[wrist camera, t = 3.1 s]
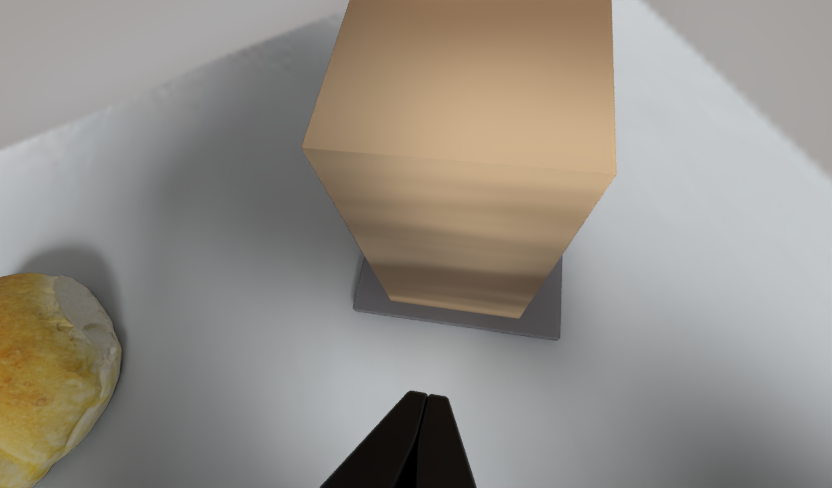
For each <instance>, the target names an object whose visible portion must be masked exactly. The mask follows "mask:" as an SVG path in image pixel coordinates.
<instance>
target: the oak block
mask: <svg viewBox="0 0 832 488" xmlns="http://www.w3.org/2000/svg"><path fill="white" fill-rule="evenodd" d="M301 148H302V150H303V152H304V153H305V155H306V157H307V158H308V160H309V162H310V163H311V165H312V167H313V169H314V170H315V172H316V174H317V175H318V177H319V179H320V181H321V182H322V184H323V186H324V187H325V189H326V191H327V192H328V194H329V196H330V198H331V199H332V201H333V203H334V204H335V206H336V208H337V210H338V211H339V213H340V215H341V216H342V218H343V220H344V221H345V223H346V225H347V227H348V228H349V230H350V232H351V233H352V235H353V237H354V238H355V240H356V242H357V244H358V245H359V247H360V249H361V250H362V252H363V254H364V256H365V257H366V259H367V261H368V262H369V264H370V266H371V267H372V269H373V271H374V273H375V274H376V276H377V278H378V279H379V281H380V283H381V285H382V286H383V288H384V290H385V291H386V293H387V295H388V296H389V298H390V300H391V301H396V302H403V303H410V304H417V305H424V306H431V307H438V308H446V309H453V310H460V311H467V312H474V313H481V314H488V315H496V316H503V317H510V318H517V319H519V318H520V316H521V315H522V313H523V312H524V310H525V309H526V307H527V306H528V305H529V303H530V302H531V300H532V299H533V297H534V296H535V294H536V293H537V291H538V290H539V288H540V287H541V285H542V284H543V282H544V281H545V279H546V278H547V276H548V275H549V273H550V272H551V271H552V269H553V268H554V266H555V265H556V263H557V262H558V260H559V259H560V257H561V256H562V254H563V253H564V251H565V250H566V248H567V247H568V245H569V244H570V242H571V241H572V239H573V238H574V236H575V235H576V234H577V232H578V231H579V229H580V228H581V226H582V225H583V223H584V222H585V220H586V219H587V217H588V216H589V214H590V213H591V211H592V210H593V208H594V207H595V205H596V204H597V202H598V201H599V200H600V198H601V197H602V195H603V194H604V192H605V191H606V189H607V188H608V186H609V185H610V183H611V182H612V180H613V179H614V177H615V176H616V174H617V170H616V136H615V103H614V69H613V35H612V2H611V0H350V1H349V4H348V7H347V10H346V13H345V16H344V19H343V22H342V25H341V28H340V31H339V34H338V37H337V40H336V43H335V46H334V50H333V53H332V56H331V59H330V62H329V65H328V68H327V71H326V74H325V77H324V80H323V83H322V86H321V89H320V92H319V95H318V98H317V101H316V104H315V107H314V110H313V113H312V117H311V120H310V123H309V126H308V129H307V132H306V135H305V138H304V141H303V144H302V147H301Z"/></svg>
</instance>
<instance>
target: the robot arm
mask: <svg viewBox="0 0 832 488" xmlns="http://www.w3.org/2000/svg"><path fill="white" fill-rule="evenodd" d="M320 488H477V487H476V484H475V480H474V477H473V474H472V471H471V468H470V465H469V462H468V458H467V455H466V452H465V449H464V446H463V443H462V440H461V436H460V433H459V430H458V427H457V424H456V421H455V418H454V414H453V411H452V408H451V405H450V402H449V399H448V398H447V397H446V396H440V395H434V394H430V395H429V396H428V395H427V394H426V393H423V392H417V391H409V392H407V393H406V394H405V395H404V397H403V398H402V399H401V400H400V401H399V402H398V403H397V404H396V405H395V406H394V407H393V408H392V410H391V411H390V412H389V413H388V414H387V415H386V416H385V417H384V418H383V419H382V420H381V421H380V423H379V424H378V425H377V426H376V427H375V428H374V429H373V430H372V431H371V432H370V433H369V434H368V436H367V437H366V438H365V439H364V440H363V441H362V442H361V443H360V444H359V445H358V446H357V447H356V449H355V450H354V451H353V452H352V453H351V454H350V455H349V456H348V457H347V458H346V459H345V460H344V462H343V463H342V464H341V465H340V466H339V467H338V468H337V469H336V470H335V471H334V472H333V473H332V475H331V476H330V477H329V478H328V479H327V480H326V481H325V482H324V483H323V484H322V485H321V486H320Z"/></svg>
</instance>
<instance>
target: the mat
mask: <svg viewBox="0 0 832 488" xmlns="http://www.w3.org/2000/svg"><path fill="white" fill-rule="evenodd" d="M561 282H562V256H561V257H560V259H559V260H558V262H557V263H556V265H555V266H554V268H553V269H552V271H551V272H550V273H549V275H548V276H547V278H546V279H545V281H544V282H543V284H542V285H541V287H540V288H539V290H538V291H537V293H536V294H535V296H534V297H533V299H532V300H531V302H530V303H529V305H528V306H527V307H526V309H525V310H524V312H523V313H522V315H521V316H520V318H519V319H517V318H510V317H503V316H496V315H488V314H481V313H474V312H467V311H460V310H453V309H446V308H438V307H431V306H424V305H417V304H410V303H403V302H396V301H391V300H390V298H389V296H388V295H387V293H386V291H385V290H384V288H383V286H382V285H381V283H380V281H379V279H378V278H377V276H376V274H375V273H374V271H373V269H372V267H371V266H370V264H369V262H368V261H367V259H366V257H364V261H363V266H362V270H361V274H360V279H359V283H358V287H357V292H356V296H355V301H354V305H353V309H354V310H355V311H358V312H365V313H372V314H379V315H386V316H392V317H399V318H406V319H413V320H420V321H427V322H434V323H440V324H447V325H454V326H461V327H468V328H475V329H482V330H488V331H495V332H502V333H509V334H516V335H523V336H529V337H536V338H543V339H550V340H558V339H560V318H561Z"/></svg>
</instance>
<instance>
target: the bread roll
mask: <svg viewBox="0 0 832 488" xmlns="http://www.w3.org/2000/svg"><path fill="white" fill-rule="evenodd" d="M121 352H122V349H121V346H120V344H119V341H118V339H117V336H116V334H115V332H114V328H113V323H112V321H111V319H110V317H109V316H108V315H107V313H106V311H105V310H104V308H103V307H102V306H101V304H100V303H99V302H98V300H97V298H96V297H95V296H94V295H93V294H92V293H91V292H90V291H89V289H87V288H86V287H85V286H83V285H82V284H80V283H78V282H77V281H76V280H75V279H73V278H70V277H67V276H63V275H59V276H54V277H53V276H49V275H45V274H41V273H21V274H13V275H8V276H3V277H0V488H31V487H33V486H34V485H35V484H37V483H38V482H39V481H40V480H41V479H42V478H43V477H44V476H45V475H46V474H47V473H48V471H49V470H50V468H51V466H52V465H53V464H54V463H56V462H57V461H58V460H60V459H61V458H62V457H64V456H65V455H67V454H68V453H69V452H70V451H71V450H72V449H74V448H75V447H76V446H77V445H79V444H80V443H81V441H82V440H83V439H84V438H85V437H86V436H87V434H88V433H89V432H90V431H91V429H92V428H93V426H94V424H95V423H96V422H97V420H98V419H99V417H100V416H101V415H102V413H103V412H104V410H105V409H106V407H107V405H108V403H109V401H110V399H111V397H112V395H113V392H114V389H115V386H116V384H117V381H118V378H119V372H120V363H121Z"/></svg>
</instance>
